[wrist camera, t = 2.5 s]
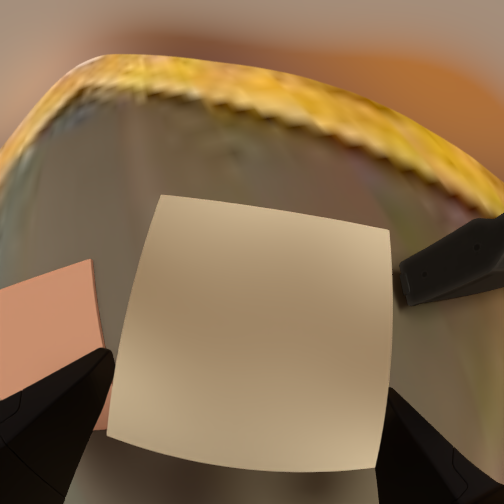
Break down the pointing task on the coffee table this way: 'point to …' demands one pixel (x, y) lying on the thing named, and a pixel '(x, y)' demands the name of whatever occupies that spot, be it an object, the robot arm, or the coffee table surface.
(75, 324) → the terracotta mat
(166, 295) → the birch block
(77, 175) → the coffee table surface
